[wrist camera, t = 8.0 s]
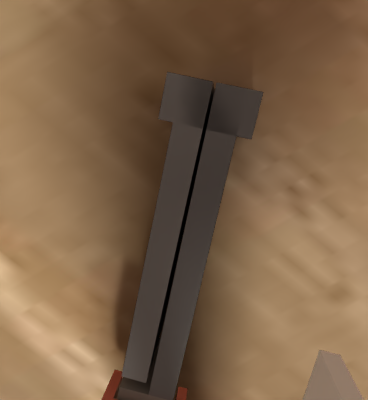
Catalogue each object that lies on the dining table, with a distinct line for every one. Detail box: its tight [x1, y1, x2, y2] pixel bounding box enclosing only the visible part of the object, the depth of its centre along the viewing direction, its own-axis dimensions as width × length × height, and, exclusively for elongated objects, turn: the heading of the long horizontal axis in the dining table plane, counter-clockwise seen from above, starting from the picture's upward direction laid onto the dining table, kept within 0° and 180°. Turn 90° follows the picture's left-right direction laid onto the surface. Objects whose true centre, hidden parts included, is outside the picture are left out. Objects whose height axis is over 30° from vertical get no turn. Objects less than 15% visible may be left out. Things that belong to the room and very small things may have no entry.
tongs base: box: [117, 83, 263, 400], centre depth 29 cm, size 32×5×7 cm, turn 168°
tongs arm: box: [122, 72, 215, 383], centre depth 27 cm, size 23×3×7 cm, turn 168°
